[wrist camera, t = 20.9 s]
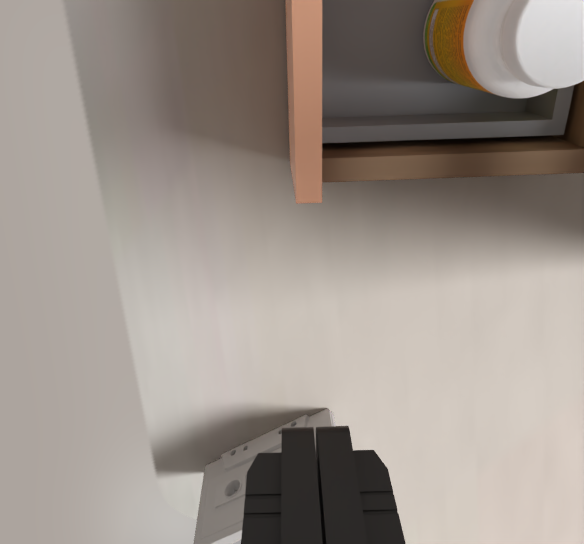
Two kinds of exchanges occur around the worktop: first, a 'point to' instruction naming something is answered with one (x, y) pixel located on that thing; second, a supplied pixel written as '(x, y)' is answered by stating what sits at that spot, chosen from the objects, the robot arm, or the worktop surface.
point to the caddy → (461, 154)
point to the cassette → (239, 482)
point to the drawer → (386, 86)
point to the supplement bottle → (507, 44)
